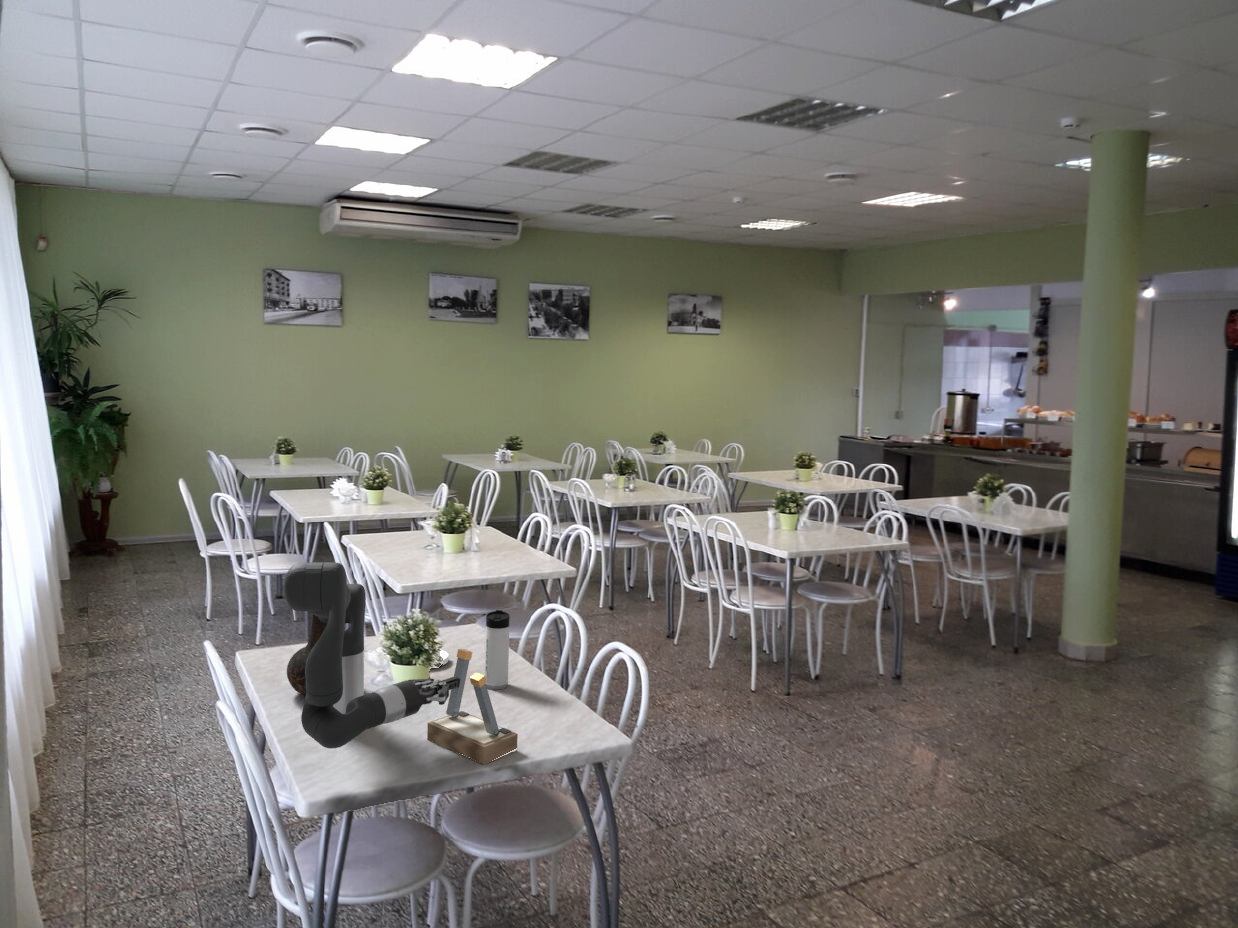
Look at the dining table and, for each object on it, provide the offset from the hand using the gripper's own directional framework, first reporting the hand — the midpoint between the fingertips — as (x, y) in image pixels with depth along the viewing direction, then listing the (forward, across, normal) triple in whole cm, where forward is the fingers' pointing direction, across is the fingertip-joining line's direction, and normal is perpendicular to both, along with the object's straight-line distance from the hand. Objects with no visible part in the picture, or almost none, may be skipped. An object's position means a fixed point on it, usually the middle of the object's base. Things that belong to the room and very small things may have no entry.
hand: (455, 681), depth 211 cm
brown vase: (-7, +44, +13) cm, 46 cm away
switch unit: (-1, -7, +13) cm, 15 cm away
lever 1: (-1, 0, +8) cm, 8 cm away
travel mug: (+29, +17, +14) cm, 36 cm away
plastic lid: (+26, +45, +14) cm, 54 cm away
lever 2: (-1, -14, +8) cm, 16 cm away
